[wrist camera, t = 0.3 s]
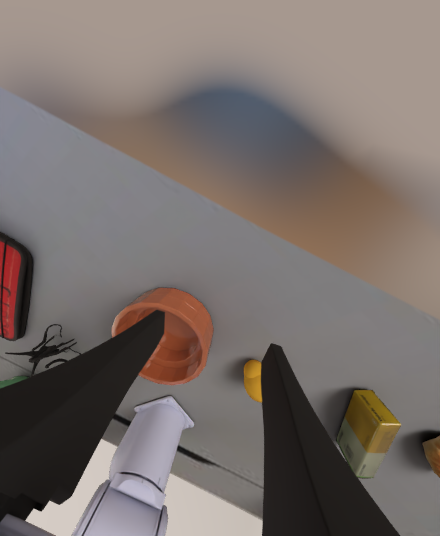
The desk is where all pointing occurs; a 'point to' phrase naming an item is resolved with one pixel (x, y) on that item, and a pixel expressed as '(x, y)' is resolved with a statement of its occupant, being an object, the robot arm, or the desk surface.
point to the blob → (253, 379)
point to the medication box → (366, 433)
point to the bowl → (172, 334)
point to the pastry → (433, 453)
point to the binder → (14, 287)
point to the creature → (45, 351)
